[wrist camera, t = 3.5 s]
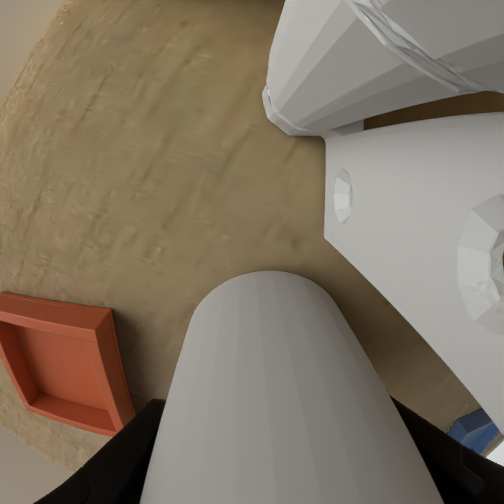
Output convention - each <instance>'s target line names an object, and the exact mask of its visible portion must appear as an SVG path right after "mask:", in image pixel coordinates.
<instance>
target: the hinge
mask: <svg viewBox="0 0 504 504" xmlns="http://www.w3.org/2000/svg"><path fill="white" fill-rule="evenodd" d="M488 90H490V91H494V92H499V93H502V94H504V0H286V1H285V4H284V7H283V10H282V14H281V17H280V20H279V23H278V27H277V30H276V33H275V37H274V40H273V43H272V47H271V50H270V55H269V65H268V75H267V80H266V86H265V88H264V90H263V92H262V97H263V104H264V108H265V111H266V115H267V118H268V119H269V120H270V121H271V122H272V123H273V124H274V125H276V126H277V127H278V128H280V129H281V130H282V131H284V132H285V133H286V134H288V135H294V136H321V137H322V138H323V139H324V140H325V143H326V187H325V220H324V238H325V239H326V240H327V241H328V242H329V243H330V244H331V245H332V246H333V247H335V248H336V249H337V250H338V251H339V252H340V253H341V254H342V255H343V256H344V257H345V258H346V259H347V260H348V261H349V262H350V263H351V264H352V265H353V266H354V267H355V268H356V269H357V270H358V271H359V272H360V273H361V274H362V275H363V276H364V277H365V278H366V279H367V280H368V281H369V282H370V283H371V284H372V285H373V286H374V287H375V288H376V289H377V290H378V291H379V292H380V293H381V294H382V295H383V296H384V297H385V298H386V299H387V300H388V301H389V302H390V303H391V304H392V305H393V306H394V307H395V308H396V309H397V311H398V312H399V313H400V314H401V315H402V316H403V317H404V318H405V319H406V320H407V321H408V322H409V323H410V324H411V325H412V326H413V328H414V329H415V330H416V331H417V332H418V333H419V334H420V335H421V336H422V337H423V339H424V340H425V341H426V342H427V343H428V344H429V345H430V346H431V347H432V349H433V350H434V351H435V352H436V353H437V354H438V355H439V356H440V358H441V359H442V360H443V361H444V362H445V363H446V365H447V366H448V367H449V368H450V369H451V370H452V372H453V373H454V374H455V375H456V376H457V377H458V379H459V380H460V381H461V382H462V383H463V385H464V386H465V387H466V388H467V389H468V391H469V392H470V393H471V394H472V396H473V397H474V398H475V399H476V401H477V402H478V403H479V404H480V406H481V407H482V408H483V409H484V411H485V412H486V413H487V415H488V416H489V417H490V418H491V420H492V421H493V422H494V424H495V425H496V426H497V428H498V429H499V430H500V432H501V433H502V434H503V436H504V270H503V262H502V256H503V252H504V112H491V113H478V114H467V115H458V116H449V117H441V118H434V119H426V120H420V121H413V122H407V123H401V124H395V125H390V126H384V127H379V128H374V129H369V130H364V121H363V119H366V118H369V117H373V116H376V115H380V114H383V113H387V112H391V111H394V110H398V109H402V108H406V107H410V106H414V105H418V104H422V103H426V102H431V101H435V100H440V99H445V98H449V97H454V96H459V95H465V94H470V93H476V92H481V91H488Z"/></svg>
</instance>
